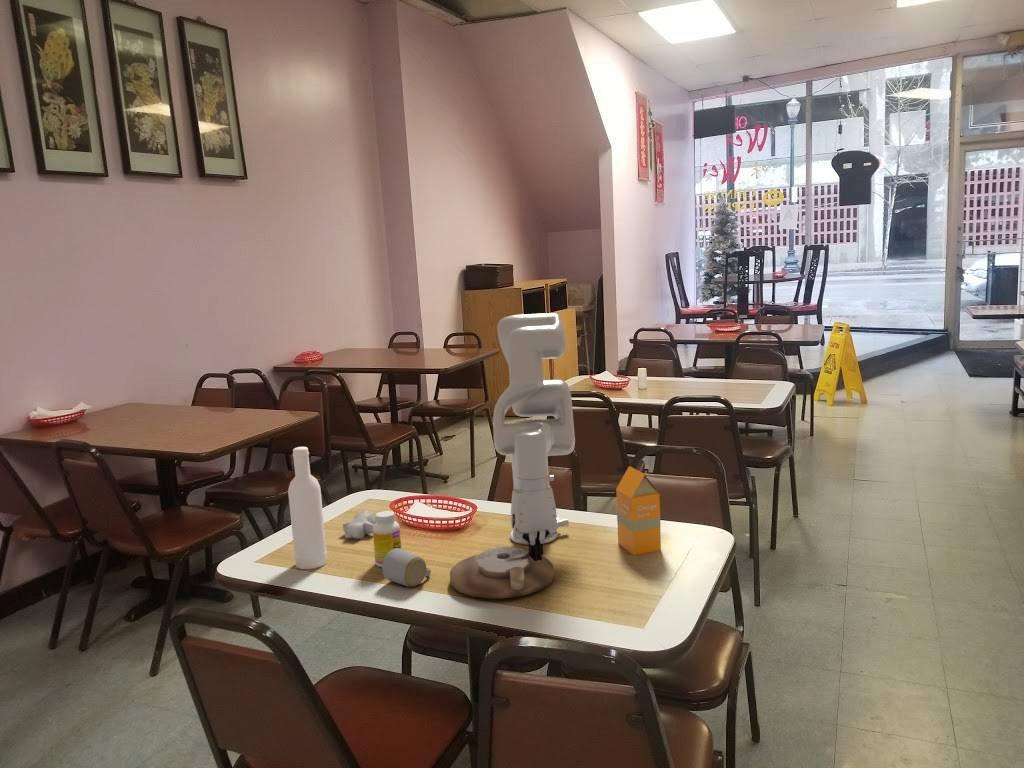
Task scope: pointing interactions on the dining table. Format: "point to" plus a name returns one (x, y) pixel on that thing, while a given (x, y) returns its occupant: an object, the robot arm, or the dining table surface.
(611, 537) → the dining table surface
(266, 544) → the dining table surface
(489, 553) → the steel cover
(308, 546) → the bottle
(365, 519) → the bunny figurine
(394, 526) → the supplement bottle
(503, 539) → the dining table surface
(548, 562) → the lazy susan
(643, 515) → the orange juice
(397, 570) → the ceramic mug
